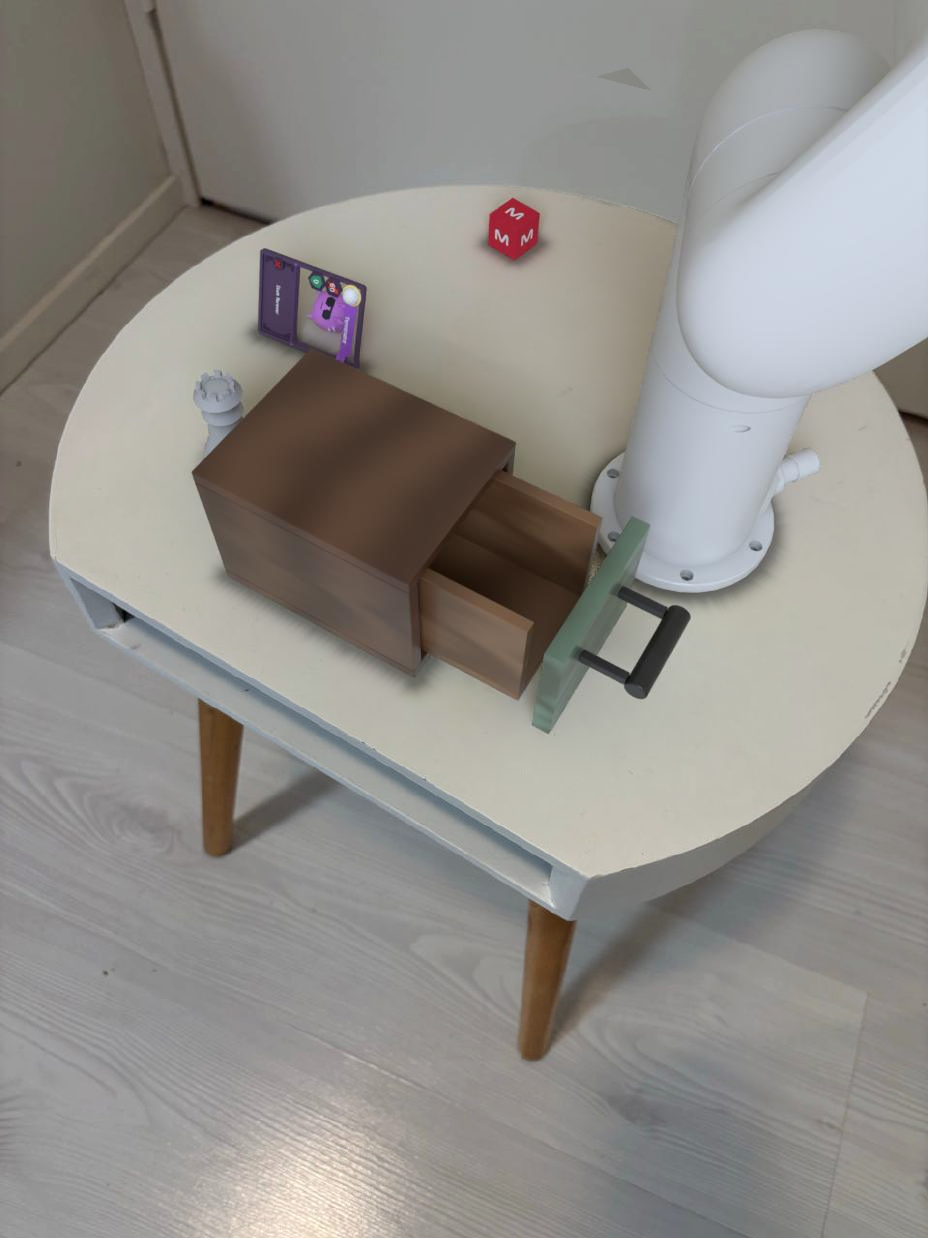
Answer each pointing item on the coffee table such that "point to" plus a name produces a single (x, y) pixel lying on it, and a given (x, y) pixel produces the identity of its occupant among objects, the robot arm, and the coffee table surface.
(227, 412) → the rook chess piece
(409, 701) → the coffee table surface
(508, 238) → the red letter cube
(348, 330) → the game card
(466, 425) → the cabinet
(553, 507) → the drawer
